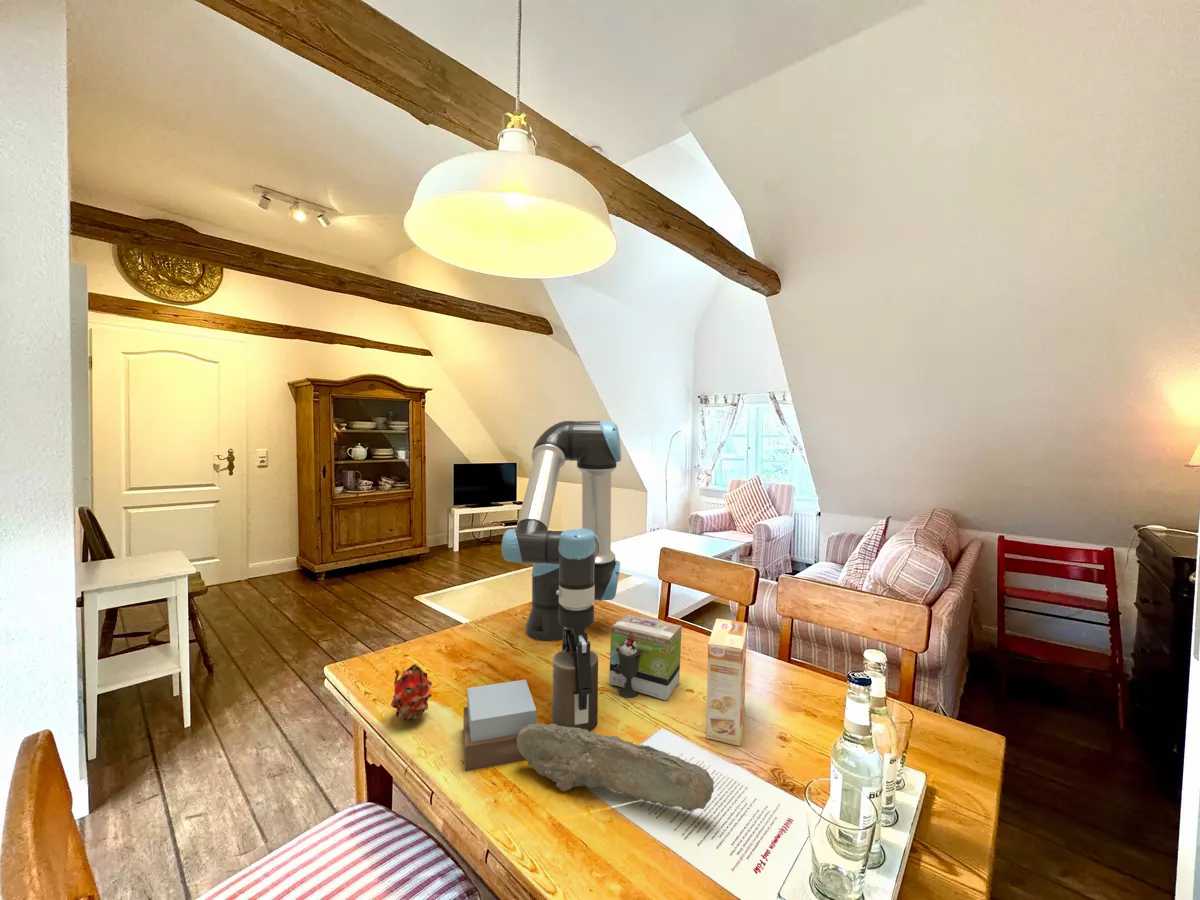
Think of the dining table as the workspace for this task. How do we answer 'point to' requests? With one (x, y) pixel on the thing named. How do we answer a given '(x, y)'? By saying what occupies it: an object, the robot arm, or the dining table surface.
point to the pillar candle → (566, 686)
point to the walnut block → (489, 749)
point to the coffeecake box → (726, 681)
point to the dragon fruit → (411, 693)
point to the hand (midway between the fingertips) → (575, 708)
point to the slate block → (499, 710)
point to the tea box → (648, 655)
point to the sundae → (628, 665)
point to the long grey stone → (613, 766)
